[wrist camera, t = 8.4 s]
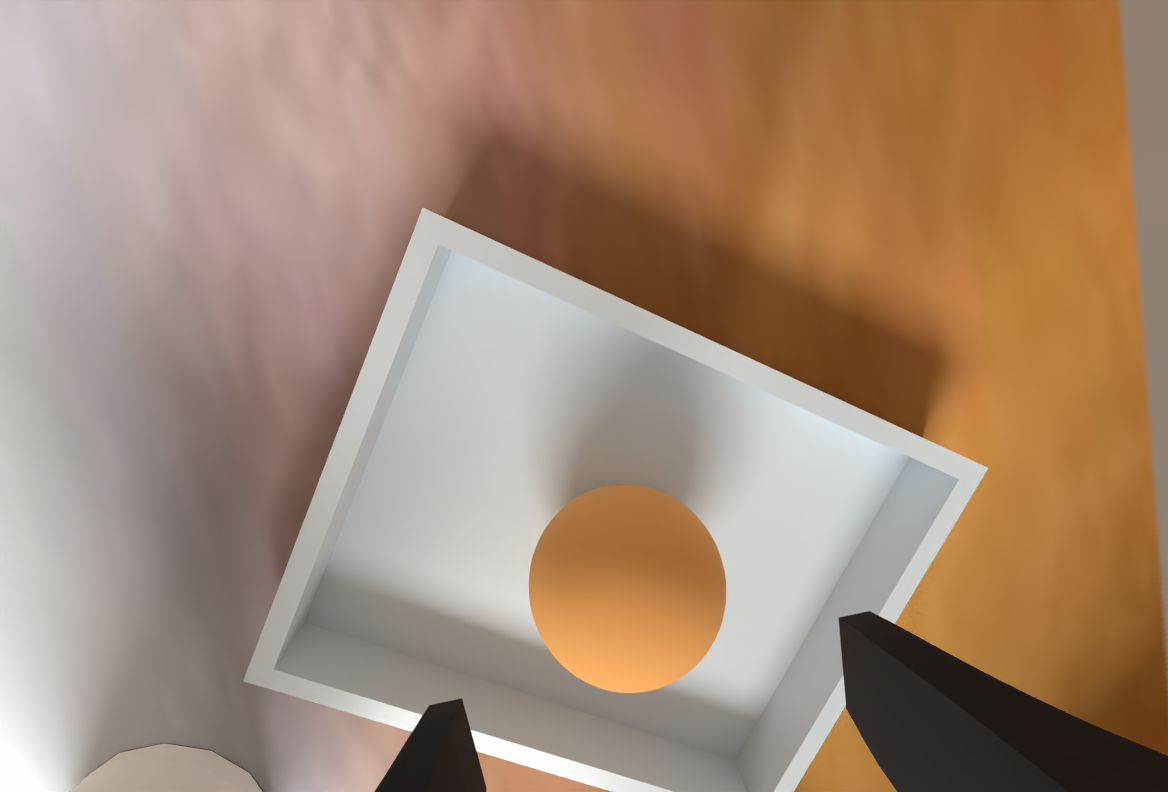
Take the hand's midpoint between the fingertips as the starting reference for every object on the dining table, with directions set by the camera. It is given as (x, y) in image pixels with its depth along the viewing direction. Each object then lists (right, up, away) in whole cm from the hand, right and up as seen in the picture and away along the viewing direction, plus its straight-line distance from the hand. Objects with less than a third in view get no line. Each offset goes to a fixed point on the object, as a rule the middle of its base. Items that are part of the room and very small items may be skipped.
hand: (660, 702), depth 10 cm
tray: (-1, +2, +7) cm, 7 cm away
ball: (0, +1, +4) cm, 4 cm away
